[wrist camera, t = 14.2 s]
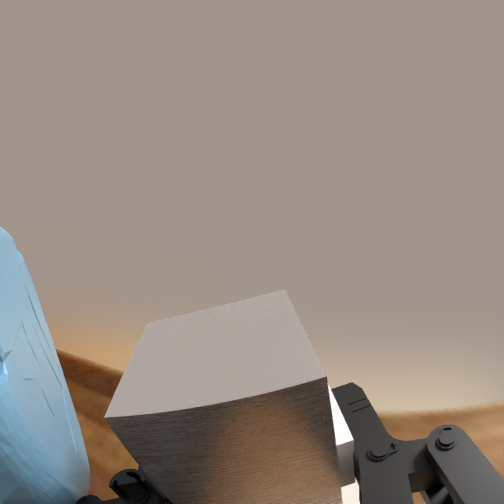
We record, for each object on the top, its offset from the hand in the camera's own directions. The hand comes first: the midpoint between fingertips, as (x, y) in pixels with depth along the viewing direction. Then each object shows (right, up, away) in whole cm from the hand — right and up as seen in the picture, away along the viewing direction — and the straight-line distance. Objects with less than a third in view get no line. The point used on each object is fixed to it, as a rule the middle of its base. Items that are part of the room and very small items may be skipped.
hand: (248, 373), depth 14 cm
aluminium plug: (+3, -11, -3) cm, 11 cm away
